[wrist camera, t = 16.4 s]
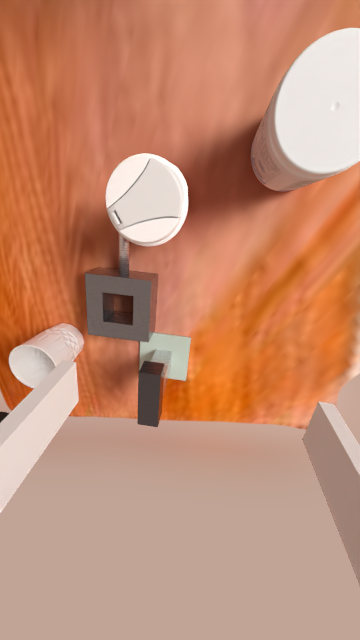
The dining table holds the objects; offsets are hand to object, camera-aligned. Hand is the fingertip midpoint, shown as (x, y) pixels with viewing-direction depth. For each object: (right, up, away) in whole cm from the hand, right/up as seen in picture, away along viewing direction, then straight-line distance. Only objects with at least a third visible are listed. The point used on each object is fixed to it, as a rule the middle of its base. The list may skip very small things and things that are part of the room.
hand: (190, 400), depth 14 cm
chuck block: (-9, +12, +28) cm, 32 cm away
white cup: (-22, +1, +34) cm, 41 cm away
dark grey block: (-4, -2, +33) cm, 33 cm away
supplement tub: (+13, +26, +19) cm, 35 cm away
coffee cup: (-2, +21, +24) cm, 32 cm away
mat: (-3, -2, +33) cm, 33 cm away
